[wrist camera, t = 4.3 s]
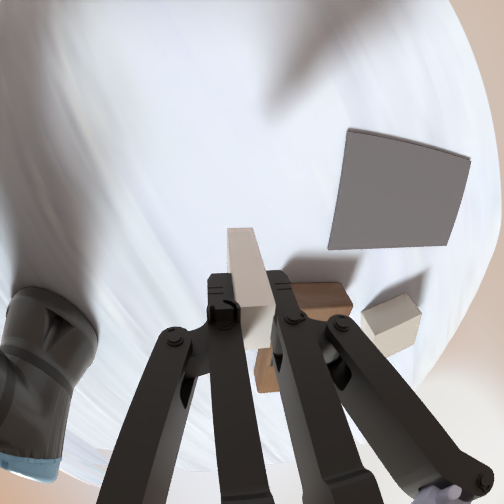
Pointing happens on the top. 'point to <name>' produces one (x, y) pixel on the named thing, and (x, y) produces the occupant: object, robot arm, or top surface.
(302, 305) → the wooden block
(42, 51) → the top surface
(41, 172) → the top surface
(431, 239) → the charcoal mat
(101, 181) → the top surface
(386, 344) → the smooth beige box
